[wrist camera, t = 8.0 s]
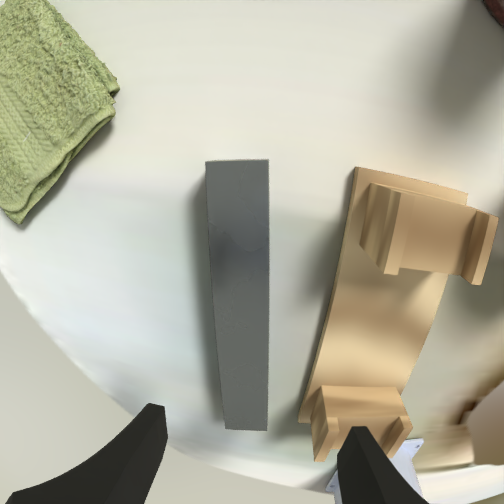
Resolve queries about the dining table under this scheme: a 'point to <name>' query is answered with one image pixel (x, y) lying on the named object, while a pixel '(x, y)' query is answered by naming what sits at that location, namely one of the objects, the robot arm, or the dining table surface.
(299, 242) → the dining table surface
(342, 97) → the dining table surface
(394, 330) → the tan piece
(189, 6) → the dining table surface
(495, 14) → the can
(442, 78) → the dining table surface
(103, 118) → the washcloth
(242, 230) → the rail
